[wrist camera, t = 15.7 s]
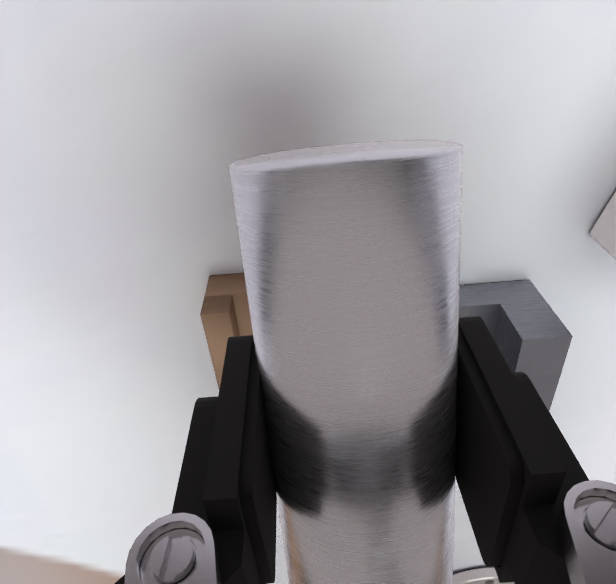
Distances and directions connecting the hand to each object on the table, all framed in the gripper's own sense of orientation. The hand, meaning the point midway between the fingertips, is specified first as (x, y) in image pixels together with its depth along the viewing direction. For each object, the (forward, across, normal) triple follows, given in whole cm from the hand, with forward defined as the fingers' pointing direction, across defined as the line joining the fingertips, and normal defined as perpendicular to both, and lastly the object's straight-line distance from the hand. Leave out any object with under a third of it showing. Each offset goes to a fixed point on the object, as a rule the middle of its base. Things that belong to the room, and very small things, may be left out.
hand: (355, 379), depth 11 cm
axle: (+1, 0, +2) cm, 2 cm away
